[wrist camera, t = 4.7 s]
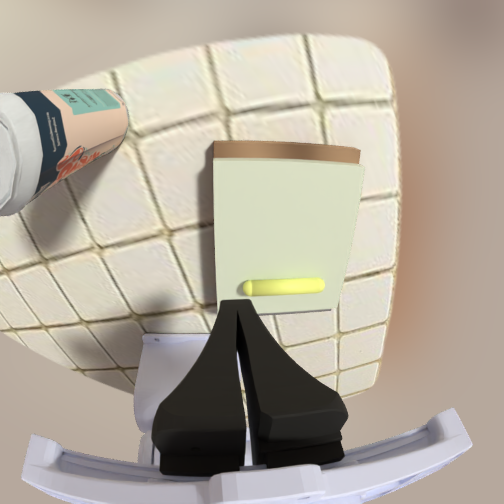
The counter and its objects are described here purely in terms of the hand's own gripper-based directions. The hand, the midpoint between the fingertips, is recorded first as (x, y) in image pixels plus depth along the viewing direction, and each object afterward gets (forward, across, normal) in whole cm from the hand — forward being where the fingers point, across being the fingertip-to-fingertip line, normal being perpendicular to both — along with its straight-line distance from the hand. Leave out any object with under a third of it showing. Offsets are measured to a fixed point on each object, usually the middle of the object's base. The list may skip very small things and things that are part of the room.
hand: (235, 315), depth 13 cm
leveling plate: (+8, -4, +1) cm, 9 cm away
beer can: (+10, +9, -8) cm, 16 cm away
